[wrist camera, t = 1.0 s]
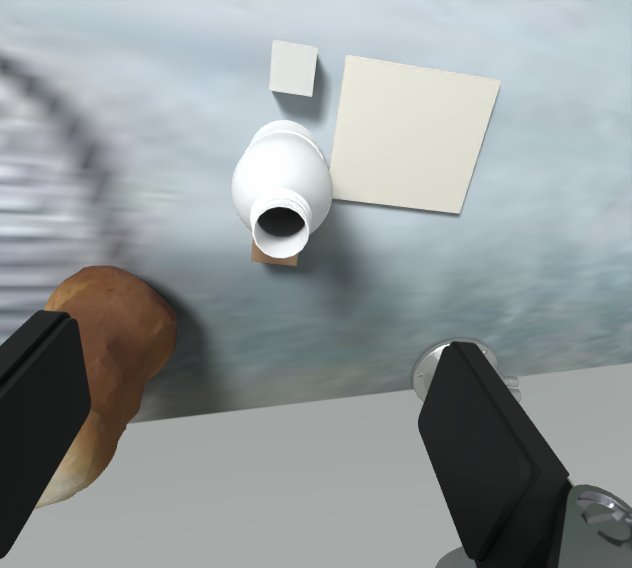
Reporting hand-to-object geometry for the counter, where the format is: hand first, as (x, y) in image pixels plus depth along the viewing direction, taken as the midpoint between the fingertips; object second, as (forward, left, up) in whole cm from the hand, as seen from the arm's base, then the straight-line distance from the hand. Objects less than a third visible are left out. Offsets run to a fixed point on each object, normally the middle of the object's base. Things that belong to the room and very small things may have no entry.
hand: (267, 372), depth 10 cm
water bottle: (0, 0, -36) cm, 36 cm away
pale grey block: (0, -8, -36) cm, 37 cm away
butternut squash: (+17, +20, -36) cm, 45 cm away
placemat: (-13, -3, -36) cm, 39 cm away
